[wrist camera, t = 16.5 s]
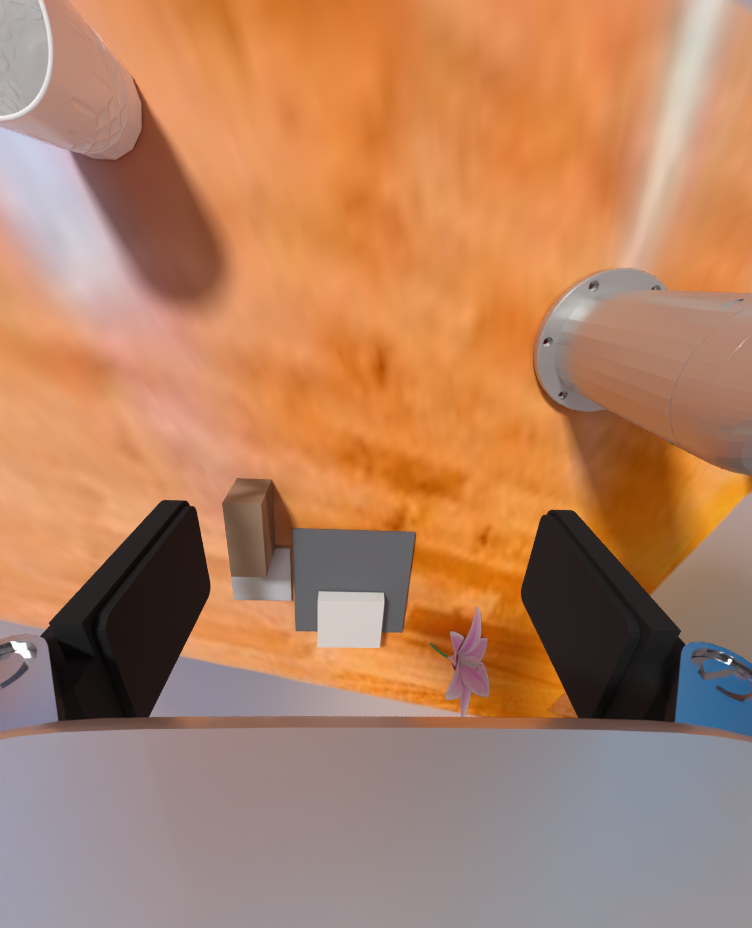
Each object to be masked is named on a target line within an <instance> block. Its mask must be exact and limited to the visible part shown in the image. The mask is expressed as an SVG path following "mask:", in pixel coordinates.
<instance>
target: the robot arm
mask: <svg viewBox="0 0 752 928" xmlns="http://www.w3.org/2000/svg"><path fill="white" fill-rule="evenodd" d="M590 284H591V287H590V288H589V285H590ZM545 339H546V342H545V343H543V341H544V340H545ZM533 359H534V369H535V373H536V376H537V379H538V382H539V383H540V385H541V387H542V389H543V390H544V391H545V392H546V393H547V395H548V396H549V397H550V398H551V399H553V400H554V401H556V402H557V403H559V404H561V405H563V406H564V407H566V408H568V409H572V410H576V411H582V412H595V411H602V410H608V411H610V412H612V413H614V414H616V415H618V416H620V417H622V418H623V419H625V420H627V421H629V422H631V423H633V424H635V425H637V426H639V427H640V428H642V429H644V430H646V431H648V432H650V433H652V434H654V435H656V436H658V437H659V438H661V439H663V440H665V441H667V442H669V443H671V444H673V445H675V446H676V447H678V448H680V449H682V450H684V451H686V452H688V453H690V454H692V455H694V456H696V457H698V458H700V459H702V460H704V461H706V462H708V463H710V464H712V465H714V466H717V467H719V468H721V469H724V470H728V471H731V472H734V473H739V474H745V475H752V293H729V292H702V291H675V290H668V289H667V288H666V286H665V285H664V284H663V283H662V282H661V281H660V280H658V279H657V278H656V277H655V276H653V275H651V274H649V273H647V272H645V271H641V270H636V269H631V268H617V269H610V270H603V271H601V272H598V273H595V274H592V275H589V276H587V277H586V278H584V279H582V280H580V281H578V282H577V283H575V284H574V285H573V286H571V287H570V288H569V289H568V290H566V291H565V292H564V293H563V294H562V295H561V296H560V297H559V298H558V299H557V300H556V302H555V303H554V304H553V305H552V307H551V308H550V310H549V311H548V313H547V314H546V315H545V317H544V319H543V321H542V324H541V326H540V328H539V330H538V334H537V337H536V341H535V345H534V355H533ZM560 392H561V393H560ZM559 393H560V395H559ZM209 593H210V579H209V574H208V569H207V563H206V558H205V553H204V548H203V542H202V537H201V532H200V527H199V521H198V516H197V511H196V509H195V507H193V506H190V505H189V503H188V502H187V501H178V500H163V501H161V502H160V503H159V504H158V505H157V506H156V507H155V508H154V510H153V511H152V512H151V513H150V514H149V515H148V516H147V517H146V518H145V519H144V520H143V521H142V523H141V524H140V525H139V526H138V527H137V528H136V529H135V530H134V531H133V532H132V533H131V534H130V536H129V537H128V538H127V539H126V540H125V541H124V542H123V543H122V544H121V545H120V546H119V547H118V549H117V550H116V551H115V552H114V553H113V554H112V555H111V556H110V557H109V558H108V559H107V560H106V562H105V563H104V564H103V565H102V566H101V567H100V568H99V569H98V570H97V571H96V572H95V573H94V575H93V576H92V577H91V578H90V579H89V580H88V581H87V582H86V583H85V584H84V585H83V586H82V588H81V589H80V590H79V591H78V592H77V593H76V594H75V595H74V596H73V597H72V598H71V600H70V601H69V602H68V603H67V604H66V605H65V606H64V607H63V608H62V609H61V610H60V611H59V613H58V614H57V615H56V616H55V617H54V618H53V619H52V620H51V621H50V622H49V624H50V626H49V627H48V628H47V629H46V630H45V632H44V633H43V634H42V635H41V636H38V635H32V634H21V635H14V636H10V637H7V638H3V639H0V928H752V664H751V663H750V662H748V661H747V660H745V659H744V658H743V657H741V656H739V655H737V654H735V653H733V652H731V651H730V650H727V649H725V648H723V647H719V646H717V645H714V644H710V643H705V642H691V643H689V644H687V645H685V644H684V643H683V641H682V640H681V639H680V638H679V637H678V635H679V634H680V632H681V630H680V629H679V628H678V627H677V626H676V625H675V624H674V622H673V621H672V620H671V619H670V618H669V617H668V616H667V615H666V614H665V612H664V611H663V610H662V609H661V608H660V607H659V606H658V604H657V603H656V602H655V601H654V600H653V599H652V598H651V597H650V596H649V594H648V593H647V592H646V591H645V590H644V589H643V588H642V587H641V585H640V584H639V583H638V582H637V581H636V580H635V579H634V578H633V576H632V575H631V574H630V573H629V572H628V571H627V570H626V569H625V567H624V566H623V565H622V564H621V563H620V562H619V561H618V560H617V559H616V557H615V556H614V555H613V554H612V553H611V552H610V551H609V550H608V548H607V547H606V546H605V545H604V544H603V543H602V542H601V541H600V539H599V538H598V537H597V536H596V535H595V534H594V533H593V532H592V530H591V529H590V528H589V527H588V526H587V525H586V524H585V523H584V521H583V520H582V519H581V518H580V517H579V516H578V515H577V514H576V513H575V512H574V511H572V510H550V511H549V512H548V513H547V515H543V516H542V517H541V519H540V523H539V526H538V530H537V534H536V537H535V541H534V544H533V548H532V552H531V555H530V559H529V563H528V566H527V570H526V574H525V577H524V581H523V584H522V588H521V598H522V601H523V604H524V606H525V608H526V610H527V612H528V614H529V616H530V618H531V620H532V623H533V625H534V627H535V629H536V631H537V633H538V635H539V637H540V639H541V641H542V643H543V645H544V647H545V650H546V652H547V654H548V656H549V658H550V660H551V662H552V664H553V666H554V668H555V670H556V672H557V674H558V677H559V679H560V681H561V683H562V685H563V687H564V689H565V691H566V693H567V695H568V697H569V699H570V701H571V704H572V706H573V708H574V710H575V712H576V714H577V716H578V718H513V717H346V716H345V717H344V716H340V717H338V716H329V717H328V716H323V717H322V716H300V717H299V716H290V717H289V716H287V717H285V716H280V717H278V716H277V717H275V716H273V717H271V716H270V717H269V716H268V717H267V716H266V717H265V716H256V717H255V716H254V717H149V716H150V714H151V712H152V710H153V708H154V706H155V704H156V702H157V699H158V697H159V696H160V693H161V692H162V689H163V688H164V686H165V684H166V681H167V680H168V678H169V675H170V673H171V671H172V669H173V667H174V665H175V663H176V661H177V659H178V657H179V655H180V653H181V651H182V649H183V647H184V645H185V643H186V641H187V639H188V637H189V635H190V633H191V631H192V629H193V627H194V625H195V623H196V621H197V619H198V617H199V615H200V613H201V611H202V609H203V607H204V605H205V603H206V601H207V599H208V597H209Z"/></svg>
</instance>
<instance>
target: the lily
mask: <svg viewBox="0 0 752 928" xmlns="http://www.w3.org/2000/svg"><path fill="white" fill-rule="evenodd" d="M481 630H482V626H481V616H480V610H479V607H478V606H477V608H476V611H475V615H474V619H473V622H472V626H471V628H470V631H469V633H468V635H467V637H466V639H465V638H464V637H463V636H462V635H461V634H459V633H456V632H453V631H451V632H450V637H451V641H452V646H453V650H454V655H453V656H448V655H446V654H444V653H442V652H441V651H440V650H439V649H437V648H436V647H435V646H434V645H433V644H432V643H430V645H431V646H432V647H433V648H434V649H435V650H436V651H437V652H439V653H440V654H441V655H443V656H444V657H446V658H448V659H450V660H451V662H452V665H453V667H454V670H455V674H454V676H453V678H452V681H451V683H450V685H449V687H448V690H447V692H446V696H445V698H446V699H447V700H453V699H456V698H459V697H460V701H461V717H465V714H466V711H467V708H468V705H469V701H470V696H471V691H472V692H473V693H474V694H476V695H479V696H482V697H488V696H489V693H490V687H489V679H488V674H487V670H486V667H485V666H484V664H483V661H481V660H482V658H483V656H484V653H485V650H486V647H487V642H488V640H487V638H481ZM480 638H481V639H480ZM464 640H465V641H464ZM461 646H462V647H461ZM460 647H461V648H460ZM459 649H460V650H459ZM458 650H459V651H458Z"/></svg>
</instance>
